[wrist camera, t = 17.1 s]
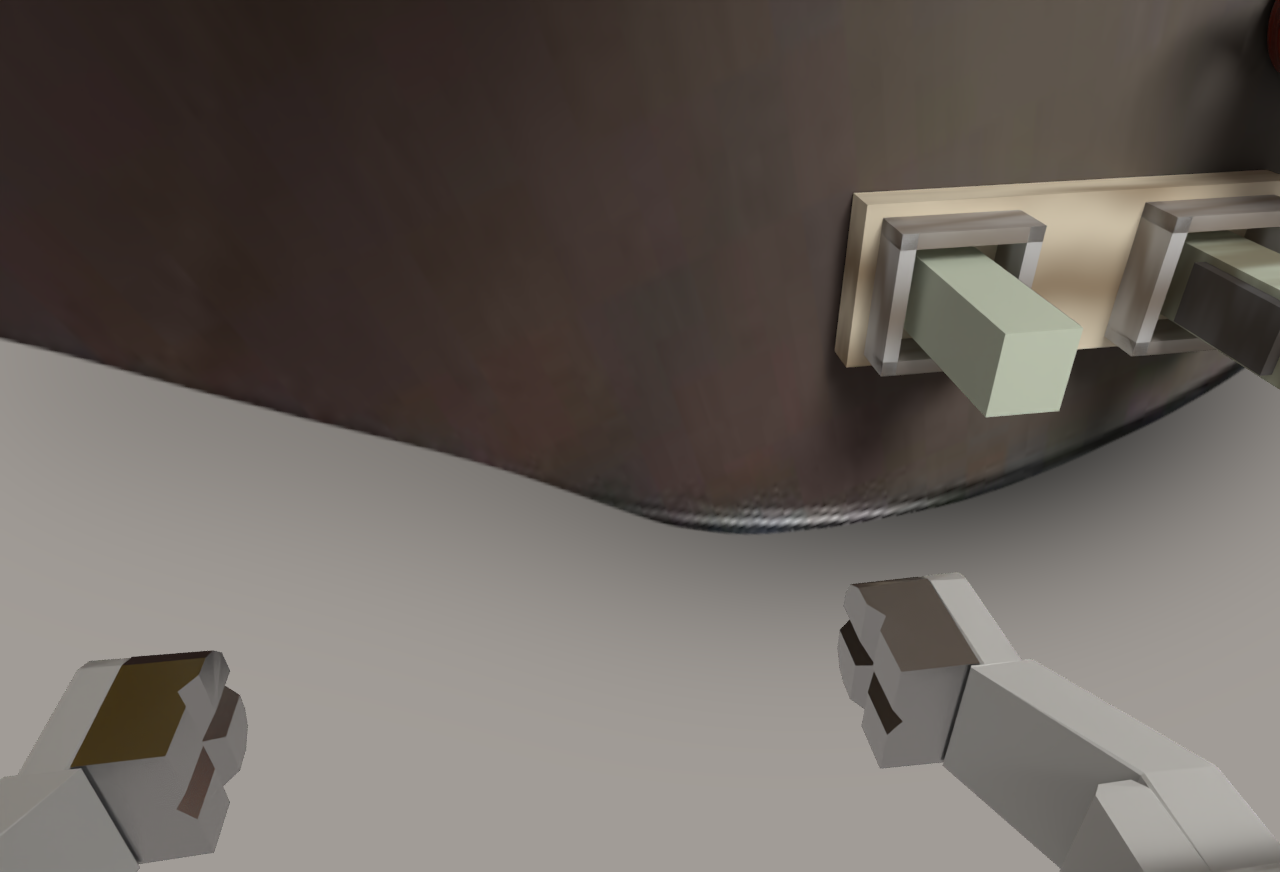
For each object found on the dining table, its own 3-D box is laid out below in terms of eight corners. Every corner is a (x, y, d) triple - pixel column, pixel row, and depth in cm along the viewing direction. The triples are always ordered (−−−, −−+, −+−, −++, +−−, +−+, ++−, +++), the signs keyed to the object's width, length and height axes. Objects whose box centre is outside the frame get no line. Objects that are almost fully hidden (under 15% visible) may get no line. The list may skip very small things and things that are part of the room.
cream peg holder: (853, 193, 43) (958, 282, 33) (1266, 169, 45) (1482, 246, 35) (834, 351, 48) (921, 470, 38) (1208, 322, 50) (1383, 428, 40)
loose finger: (908, 249, 43) (1005, 333, 34) (983, 244, 43) (1097, 326, 35) (896, 321, 45) (985, 417, 37) (968, 315, 45) (1072, 409, 37)
